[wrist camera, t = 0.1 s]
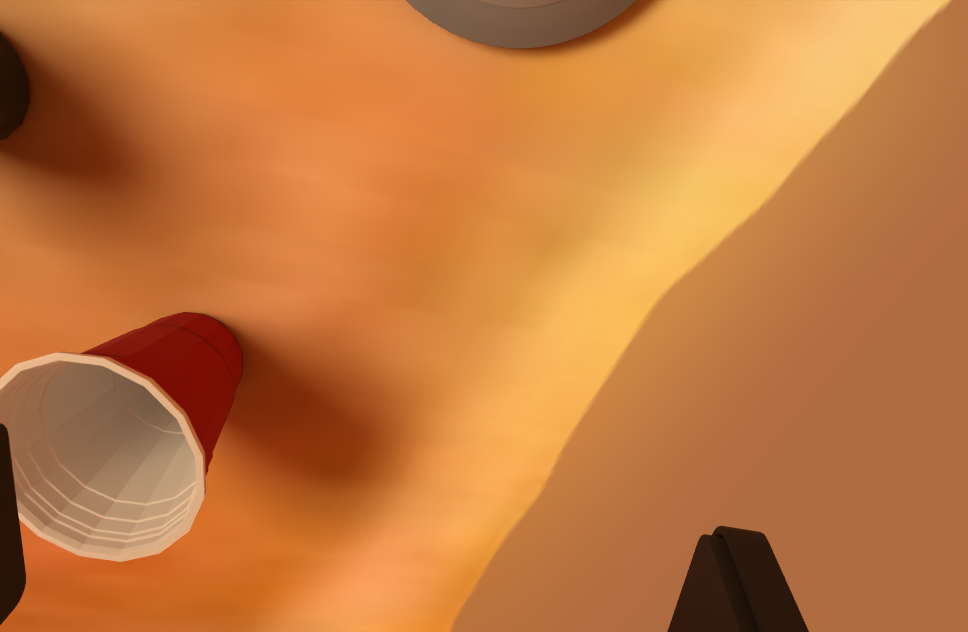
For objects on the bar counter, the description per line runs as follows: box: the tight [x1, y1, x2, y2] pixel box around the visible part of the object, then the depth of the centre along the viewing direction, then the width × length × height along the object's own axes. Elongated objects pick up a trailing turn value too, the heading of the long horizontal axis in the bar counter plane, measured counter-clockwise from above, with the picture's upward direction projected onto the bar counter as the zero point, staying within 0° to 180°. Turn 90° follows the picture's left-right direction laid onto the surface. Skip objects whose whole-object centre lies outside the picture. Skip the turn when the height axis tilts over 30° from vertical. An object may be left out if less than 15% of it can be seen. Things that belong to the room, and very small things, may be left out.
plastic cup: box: [0, 312, 243, 562], centre depth 39 cm, size 11×11×12 cm
